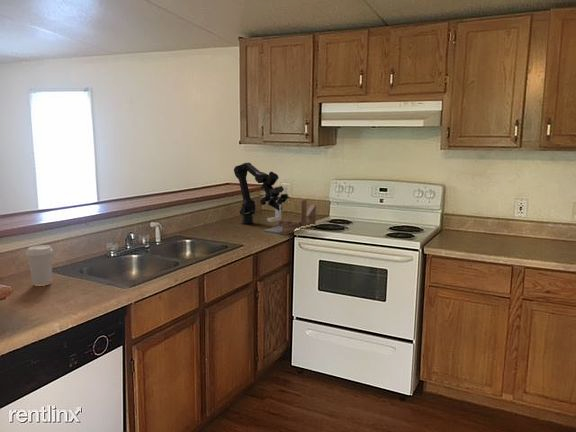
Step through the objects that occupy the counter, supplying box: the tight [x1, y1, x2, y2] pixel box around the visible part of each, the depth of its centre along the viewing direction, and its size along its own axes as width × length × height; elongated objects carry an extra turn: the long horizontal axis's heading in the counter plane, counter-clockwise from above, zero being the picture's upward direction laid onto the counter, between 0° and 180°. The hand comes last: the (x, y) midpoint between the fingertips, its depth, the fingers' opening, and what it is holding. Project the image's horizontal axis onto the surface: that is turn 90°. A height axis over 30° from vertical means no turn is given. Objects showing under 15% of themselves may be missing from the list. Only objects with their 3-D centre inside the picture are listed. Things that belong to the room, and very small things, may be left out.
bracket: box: [266, 204, 282, 223], centre depth 293 cm, size 4×8×10 cm, turn 130°
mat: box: [263, 225, 295, 235], centre depth 298 cm, size 16×18×1 cm
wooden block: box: [300, 199, 317, 226], centre depth 307 cm, size 4×11×18 cm, turn 131°
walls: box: [278, 219, 301, 233], centre depth 298 cm, size 16×18×4 cm
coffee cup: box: [25, 244, 54, 284], centre depth 189 cm, size 10×10×15 cm
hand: (280, 209), depth 293 cm, fingers closed on bracket, 2 cm apart
